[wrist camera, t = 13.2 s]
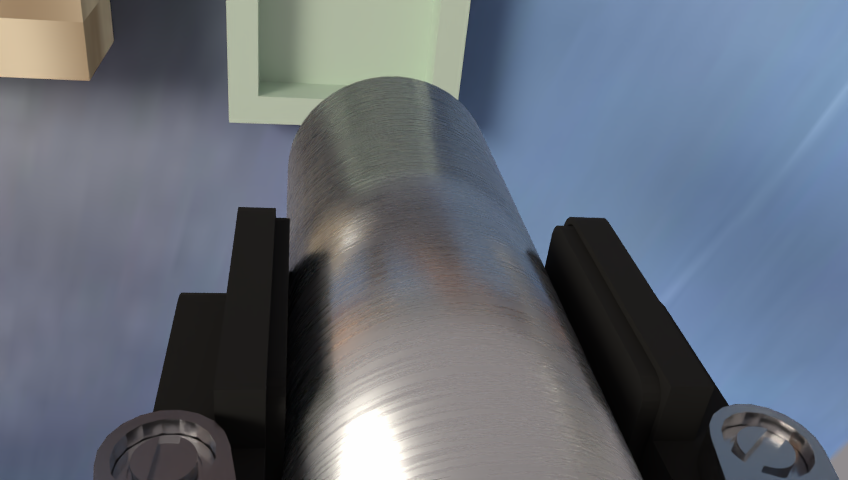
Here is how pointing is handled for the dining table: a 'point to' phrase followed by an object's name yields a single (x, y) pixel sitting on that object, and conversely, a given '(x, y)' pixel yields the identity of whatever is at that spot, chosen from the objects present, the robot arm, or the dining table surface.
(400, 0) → the square tray
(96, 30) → the socket block
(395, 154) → the brushed metal cylinder
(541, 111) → the dining table surface
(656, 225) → the dining table surface
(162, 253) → the dining table surface
